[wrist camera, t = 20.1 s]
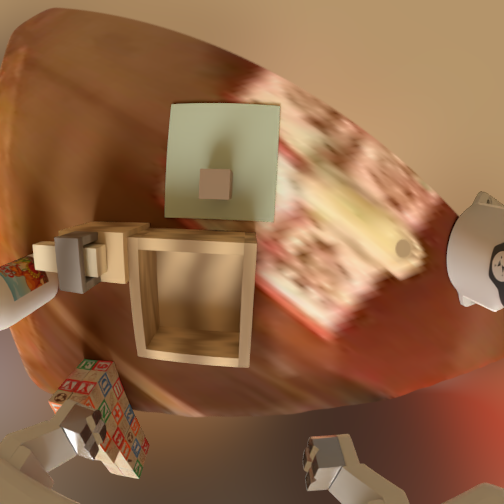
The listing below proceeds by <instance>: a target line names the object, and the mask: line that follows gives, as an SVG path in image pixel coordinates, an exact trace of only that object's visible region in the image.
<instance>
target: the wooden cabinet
mask: <svg viewBox="0 0 504 504" xmlns="http://www.w3.org/2000/svg"><path fill="white" fill-rule="evenodd" d="M58 232H59V236H58V237H54V240H55V253H56V263H57V272H58V280H59V287H60V290H62V291H68V292H75V293H81V294H83V293H85V292H86V291H88V290H89V289H91V288H92V287H93V286H95V285H96V284H98V283H99V282H101V281H103V282H112V283H121V284H126V283H127V282H128V281H129V285H130V297H131V307H132V317H133V325H134V333H135V340H136V347H137V353H138V356H140V357H146V358H153V359H159V360H167V361H175V362H183V363H193V364H203V365H215V366H229V367H248V368H249V360H250V345H251V330H252V315H253V300H254V284H255V269H256V253H257V240H256V233H255V232H237V231H217V230H196V229H172V228H150V223H140V222H97V221H93V222H89V223H85V224H81V225H77V226H74V227H70V228H66V229H63V230H59V231H58ZM86 244H105V247H106V264H107V272H106V273H104V274H103V275H101V276H99V277H90V276H85V268H84V256H83V245H86Z"/></svg>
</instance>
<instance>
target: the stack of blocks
mask: <svg viewBox="0 0 504 504" xmlns="http://www.w3.org/2000/svg"><path fill="white" fill-rule="evenodd" d="M68 399H70V400H73V401H75V402H78V403H81V404H83V405H86V406H89V407H91V408H94V409H97V410H100V412H101V414H102V417H101V420H102V421H103V422H104V423H105V425H106V430H107V433H106V438H105V440H104V442H103V443H101V444H99V445H98V447H99V452H98V453H97V455H96V457H95V459H96V460H100V461H102V462H103V464H105V466H106V467H107V469H108V470H109V471H110V472H111V473H113V474H118V475H122V476H127V477H133V478H138V479H139V478H140V475H141V472H142V469H143V464H144V461H145V458H146V454H147V452H148V448H149V443H148V441H147V440H146V438H145V435H144V433H143V431H142V429H141V427H140V425H139V423H138V421H137V418H136V416H135V415H134V413H133V410H132V408H131V406H130V404H129V401H128V399H127V397H126V394H125V392H124V388H123V386H122V383H121V381H120V378H119V376H118V372H117V370H116V367H115V364H114V362H113V361H102V360H99V361H97V360H89V359H84V360H83V361H82V362H81V363H80V364H79V365H78V367H77V368H76V369H75V370H74V371H73V373H72V374H71V375H70V376H69V377H68V379H66V380H65V381H64V382H63V384H62V385H61V386H60V387H59V388H58V390H57V391H56V392H55V393H54V395H53V396H52V397H51V398H50V399H49V400H48V402H49V404H50V406H51V407H52V409H53V411H54V413H56V412H57V411H58V410H59V408H60V407H61V406H62V404H63V403H64V402H65V401H66V400H68Z"/></svg>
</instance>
